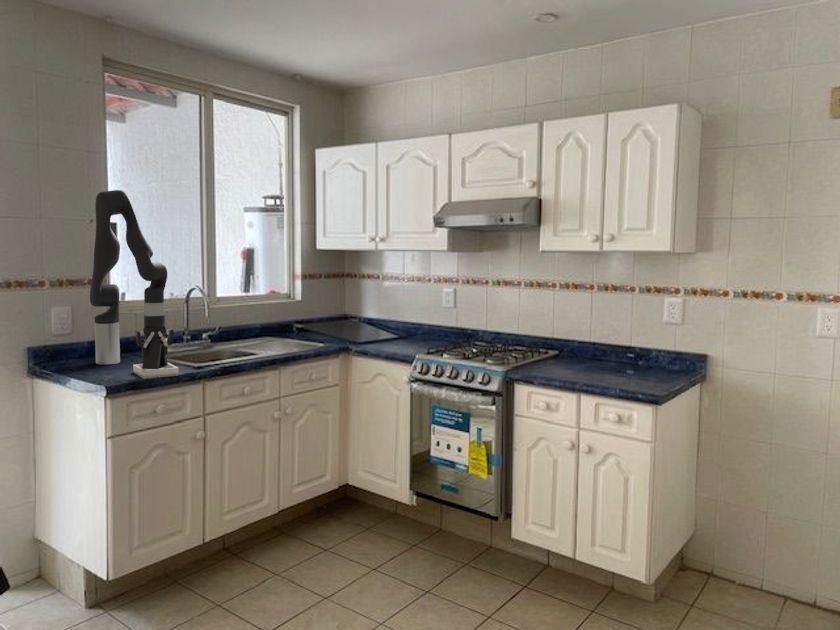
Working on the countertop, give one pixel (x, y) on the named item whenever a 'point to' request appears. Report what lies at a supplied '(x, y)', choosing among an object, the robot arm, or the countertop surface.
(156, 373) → the tray
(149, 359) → the dark tent sign
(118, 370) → the countertop surface
